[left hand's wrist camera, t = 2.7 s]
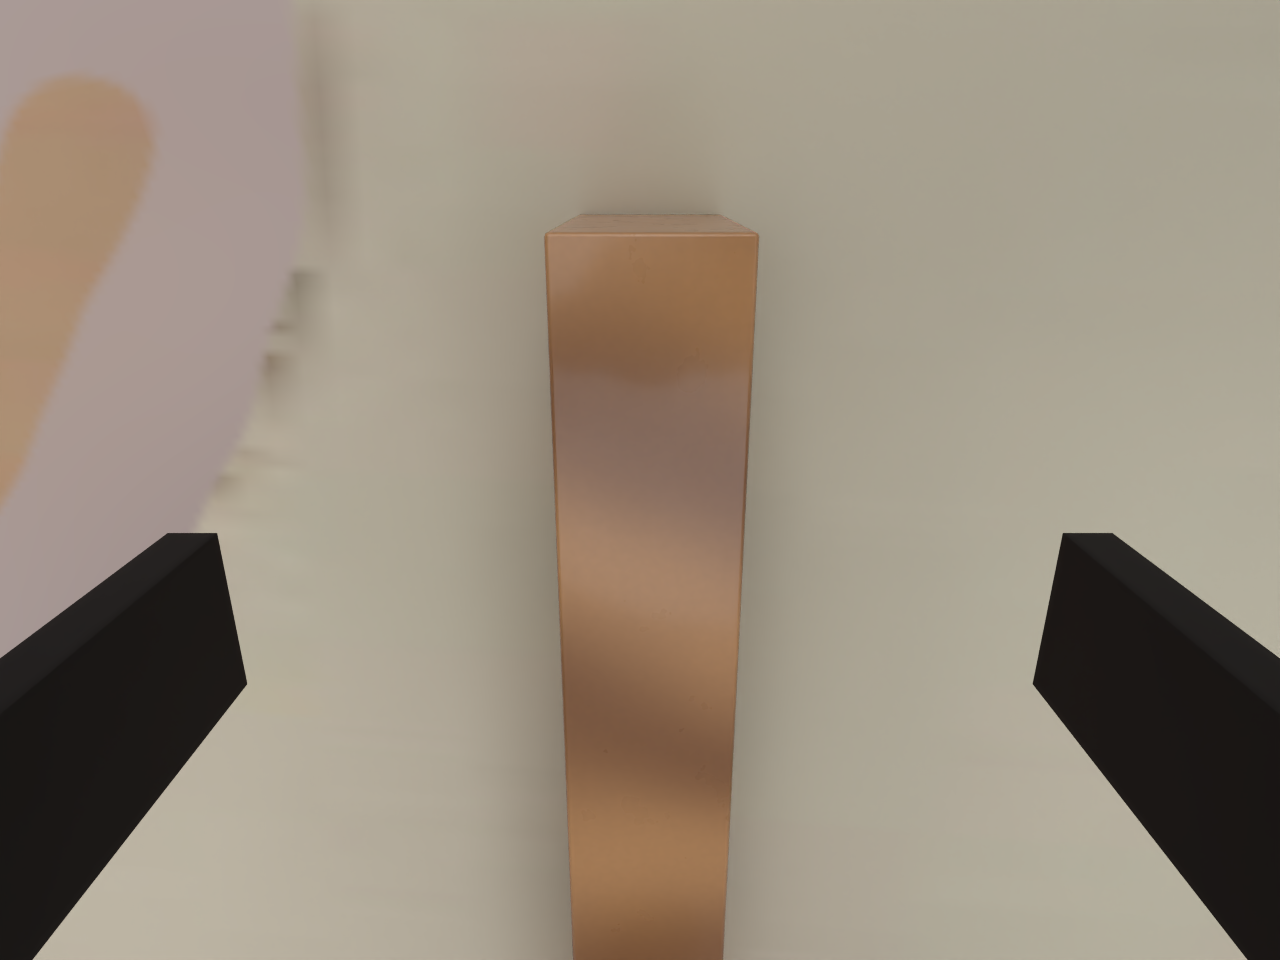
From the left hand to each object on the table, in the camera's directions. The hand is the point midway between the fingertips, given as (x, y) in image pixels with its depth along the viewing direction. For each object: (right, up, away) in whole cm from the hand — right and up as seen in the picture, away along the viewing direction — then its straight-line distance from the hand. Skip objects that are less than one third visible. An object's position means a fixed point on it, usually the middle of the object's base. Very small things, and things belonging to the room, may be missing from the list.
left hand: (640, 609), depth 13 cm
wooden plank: (0, -24, +24) cm, 34 cm away
